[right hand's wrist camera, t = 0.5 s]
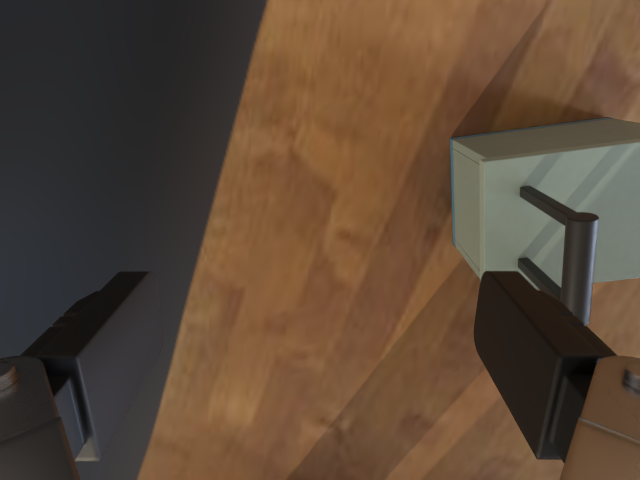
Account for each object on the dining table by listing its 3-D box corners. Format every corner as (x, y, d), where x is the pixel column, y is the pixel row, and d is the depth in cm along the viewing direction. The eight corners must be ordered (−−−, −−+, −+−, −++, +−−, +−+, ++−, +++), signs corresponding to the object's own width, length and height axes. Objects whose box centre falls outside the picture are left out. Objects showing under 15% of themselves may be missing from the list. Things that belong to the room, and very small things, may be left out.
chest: (452, 244, 41) (486, 288, 33) (449, 137, 38) (486, 157, 30) (597, 226, 41) (668, 267, 32) (607, 117, 37) (690, 131, 29)
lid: (479, 289, 33) (530, 360, 25) (479, 159, 30) (537, 192, 22) (668, 267, 32) (782, 333, 24) (690, 131, 29) (831, 156, 21)
